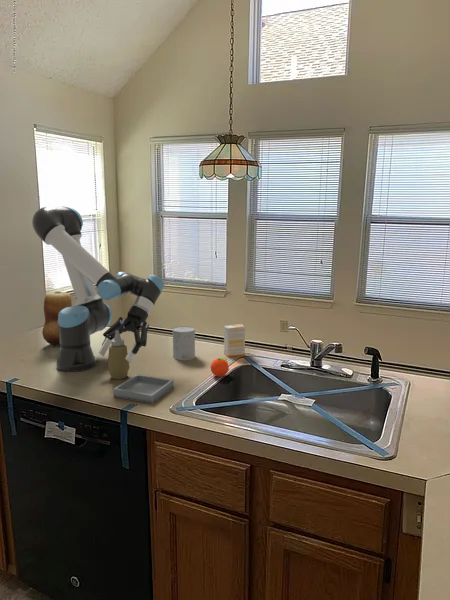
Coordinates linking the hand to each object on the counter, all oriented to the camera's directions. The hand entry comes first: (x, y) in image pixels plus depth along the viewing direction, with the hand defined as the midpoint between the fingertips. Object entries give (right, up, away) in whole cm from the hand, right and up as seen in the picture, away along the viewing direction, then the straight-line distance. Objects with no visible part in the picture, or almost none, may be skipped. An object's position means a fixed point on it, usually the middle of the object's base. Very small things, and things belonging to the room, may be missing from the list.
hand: (114, 357), depth 171 cm
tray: (+13, -11, -11) cm, 20 cm away
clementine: (+39, -8, +6) cm, 41 cm away
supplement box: (+45, -3, +31) cm, 55 cm away
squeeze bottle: (+1, -8, +4) cm, 9 cm away
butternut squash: (-36, 0, +43) cm, 56 cm away
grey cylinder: (+24, -3, +28) cm, 36 cm away
